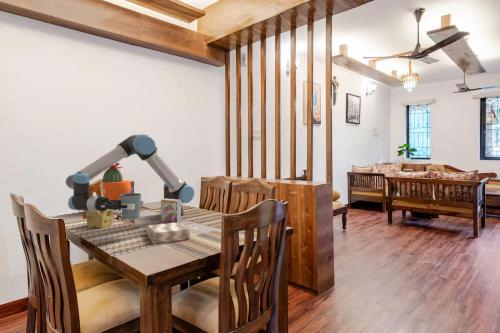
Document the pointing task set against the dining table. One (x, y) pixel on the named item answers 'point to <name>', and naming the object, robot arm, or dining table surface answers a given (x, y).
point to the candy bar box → (170, 211)
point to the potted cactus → (114, 184)
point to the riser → (167, 232)
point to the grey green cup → (131, 199)
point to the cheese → (99, 218)
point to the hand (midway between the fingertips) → (139, 204)
